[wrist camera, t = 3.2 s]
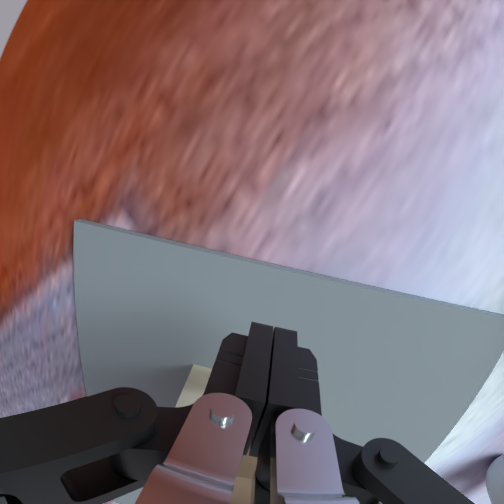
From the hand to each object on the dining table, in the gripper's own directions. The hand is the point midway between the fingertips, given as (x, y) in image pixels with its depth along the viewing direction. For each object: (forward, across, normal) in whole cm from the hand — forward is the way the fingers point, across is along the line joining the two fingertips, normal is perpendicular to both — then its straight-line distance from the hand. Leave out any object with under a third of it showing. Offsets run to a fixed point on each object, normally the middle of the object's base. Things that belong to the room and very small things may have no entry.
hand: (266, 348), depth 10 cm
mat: (+4, -2, +14) cm, 14 cm away
